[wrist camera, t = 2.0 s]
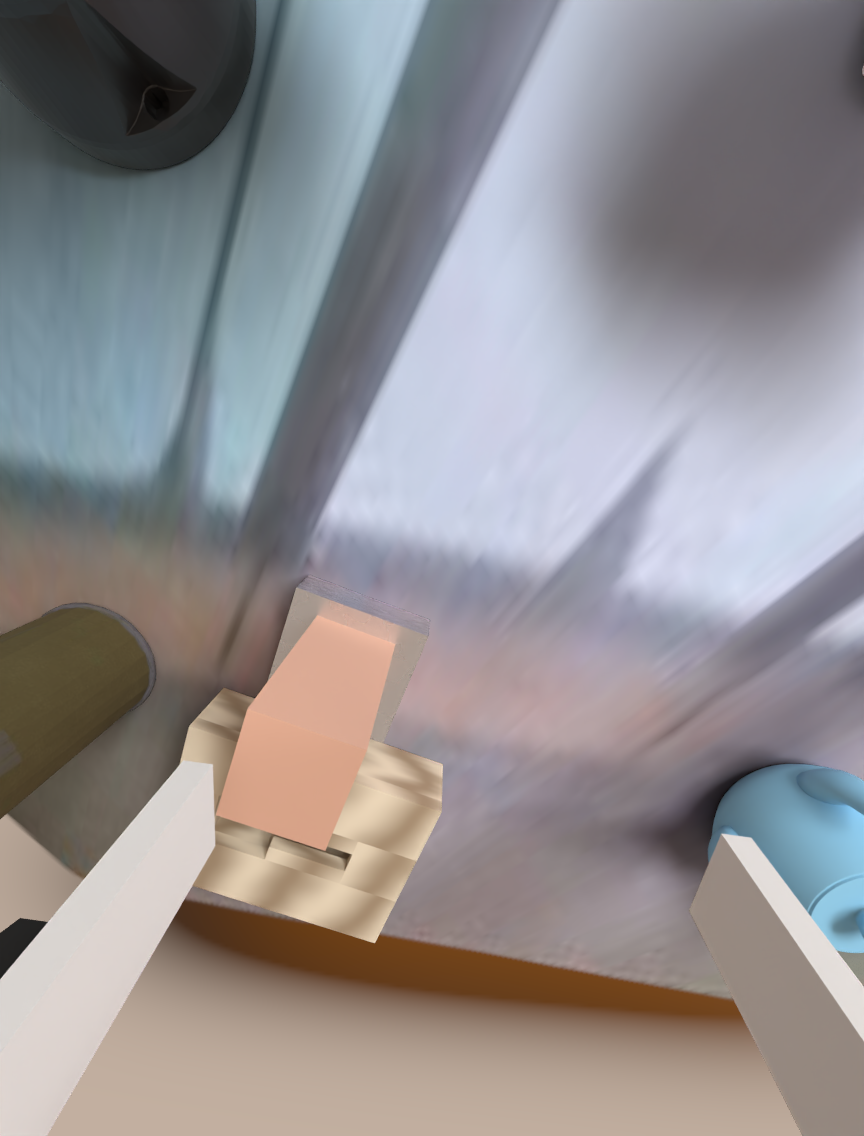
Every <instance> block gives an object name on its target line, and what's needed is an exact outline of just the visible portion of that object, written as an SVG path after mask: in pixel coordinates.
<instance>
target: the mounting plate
mask: <svg viewBox="0 0 864 1136" xmlns="http://www.w3.org/2000/svg"><path fill="white" fill-rule="evenodd" d="M254 699H255V698H252V697H249V696H246V695H244V694H241V693H238V692H235V691H232V690H229V689H226V688H223V689H222V690H221V691H220V692H219V694H218V695H217V696H216V697H215V698H214V699H213V700H212V701H211V702H210V703H209V705H208V706H207V707H206V708H205V709H204V710H203V711H202V712H201V713H200V715H199V716H198V717H197V718H196V719H195V720H194V721H193V722H192V723H191V724H190V726H189V729H188V733H187V737H186V741H185V745H184V749H183V753H182V757H181V761H180V764H181V763H182V761H183V760H184V761H192V762H199V763H206V764H213V785H214V817H215V847H214V849H213V851H212V853H211V854H210V856H209V858H208V859H207V861H206V863H205V865H204V866H203V868H202V870H201V871H200V873H199V875H198V877H197V878H196V880H195V882H194V883H193V885H192V886H195V887H198V888H201V889H205V890H208V891H211V892H214V893H217V894H220V895H224V896H227V897H230V898H233V899H236V900H239V901H243V902H246V903H249V904H252V905H255V906H258V907H262V908H265V909H268V910H271V911H274V912H278V913H281V914H284V915H287V916H290V917H293V918H297V919H300V920H303V921H306V922H309V923H312V924H316V925H319V926H322V927H325V928H328V929H331V930H335V931H338V932H341V933H344V934H347V935H351V936H354V937H357V938H360V939H363V940H366V941H369V942H373V943H375V942H376V940H377V938H378V936H379V934H380V932H381V930H382V928H383V926H384V924H385V922H386V920H387V918H388V916H389V914H390V912H391V910H392V908H393V906H394V904H395V902H396V900H397V898H398V896H399V894H400V892H401V891H402V889H403V887H404V885H405V883H406V881H407V879H408V877H409V875H410V873H411V871H412V869H413V867H414V865H415V863H416V861H417V859H418V857H419V855H420V853H421V851H422V849H423V847H424V845H425V843H426V841H427V840H428V838H429V836H430V834H431V832H432V830H433V828H434V826H435V824H436V822H437V820H438V818H439V816H440V814H441V812H442V775H443V764H441V763H438V762H435V761H432V760H429V759H426V758H424V757H421V756H418V755H415V754H412V753H409V752H406V751H404V750H401V749H398V748H395V747H392V746H389V745H386V744H384V743H381V742H378V741H375V740H372V739H370V741H369V745H368V748H367V752H366V754H365V756H364V759H363V761H362V764H361V766H360V768H359V771H358V773H357V776H356V778H355V780H354V783H353V785H352V788H351V790H350V792H349V795H348V797H347V800H346V802H345V805H344V807H343V809H342V812H341V814H340V817H339V819H338V821H337V824H336V826H335V829H334V831H333V833H332V836H331V838H330V841H329V843H328V845H327V848H326V850H325V851H324V850H321V849H318V848H314V847H311V846H308V845H305V844H302V843H299V842H296V841H293V840H290V839H287V838H284V837H281V836H278V835H275V834H272V833H269V832H266V831H263V830H260V829H257V828H254V827H250V826H247V825H244V824H241V823H238V822H235V821H232V820H229V819H226V818H223V817H220V816H217V815H216V813H217V809H218V806H219V803H220V799H221V796H222V792H223V789H224V786H225V782H226V779H227V776H228V772H229V769H230V766H231V762H232V759H233V755H234V752H235V749H236V745H237V742H238V739H239V735H240V732H241V729H242V725H243V722H244V718H245V715H246V712H247V709H248V707H249V706H250V705H251V703H252V702H253V701H254Z"/></svg>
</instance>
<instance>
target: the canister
mask: <svg viewBox="0 0 864 1136" xmlns="http://www.w3.org/2000/svg"><path fill="white" fill-rule="evenodd" d="M155 680H156V668H155V661H154V657H153V654H152V652H151V649H150V647H149V645H148V643H147V642H146V641H145V639H144V638H143V636H142V635H141V634H140V633H139V632H138V631H137V629H136V628H135V627H134V626H133V625H132V624H131V623H130V622H128V621H127V620H125V619H124V618H123V617H121V616H120V615H118V614H116V613H114V612H112V611H110V610H108V609H106V608H103V607H99V606H95V605H91V604H87V603H71V604H65V605H61V606H58V607H56V608H54V609H52V610H50V611H48V612H47V613H45V614H44V615H43V616H42V617H41V618H39V619H37V620H34V621H32V622H30V623H28V624H25V625H23V626H21V627H19V628H16V629H14V630H12V631H10V632H7V633H5V634H3V635H1V636H0V819H1V818H2V817H3V816H4V815H6V814H7V813H8V812H9V811H10V810H12V809H13V808H14V807H15V806H16V805H17V804H19V803H20V802H21V801H22V800H23V799H25V798H26V797H27V796H28V795H29V794H30V793H32V792H33V791H34V790H35V789H36V788H38V787H39V786H40V785H41V784H42V783H43V782H45V781H46V780H47V779H48V778H49V777H51V776H52V775H53V774H54V773H55V772H56V771H58V770H59V769H60V768H61V767H62V766H64V765H65V764H66V763H67V762H68V761H70V760H71V759H72V758H73V757H74V756H75V755H77V754H78V753H79V752H80V751H81V750H83V749H84V748H85V747H86V746H87V745H88V744H90V743H91V742H92V741H93V740H94V739H96V738H97V737H98V736H99V735H100V734H101V733H103V732H104V731H105V730H106V729H107V728H109V727H110V726H111V725H112V724H113V723H114V722H116V721H117V720H118V719H119V718H120V717H122V716H123V715H124V714H125V713H126V712H128V711H131V710H133V709H135V708H136V707H138V706H139V705H141V704H142V703H143V702H144V701H145V700H146V699H147V697H148V696H149V695H150V693H151V690H152V688H153V686H154V683H155Z"/></svg>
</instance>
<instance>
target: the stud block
mask: <svg viewBox="0 0 864 1136" xmlns="http://www.w3.org/2000/svg"><path fill="white" fill-rule="evenodd" d="M394 648H395V644H394V643H391V642H388V641H386V640H383V639H380V638H377V637H375V636H372V635H369V634H367V633H364V632H361V631H358V630H356V629H353V628H350V627H348V626H345V625H342V624H339V623H337V622H334V621H331V620H328V619H326V618H323V617H320V616H318V615H317V616H316V618H315V619H314V620H313V622H312V623H311V624H310V626H309V627H308V628H307V630H306V631H305V632H304V634H303V635H302V636H301V638H300V639H299V640H298V642H297V643H296V644H295V646H294V647H293V648H292V650H291V651H290V652H289V654H288V655H287V656H286V658H285V659H284V660H283V662H282V663H281V664H280V666H279V667H278V669H277V670H276V671H275V673H274V674H273V675H272V677H271V678H270V679H269V681H268V682H267V683H266V685H265V686H264V687H263V689H262V690H261V691H260V693H259V694H258V695H257V697H256V698H255V699H254V701H253V702H252V703H251V705H250V706H249V707H248V709H247V712H246V715H245V718H244V722H243V725H242V729H241V732H240V735H239V739H238V742H237V745H236V749H235V752H234V755H233V759H232V762H231V766H230V769H229V772H228V776H227V779H226V782H225V786H224V789H223V792H222V796H221V799H220V803H219V806H218V809H217V813H216V815H217V816H220V817H223V818H226V819H229V820H232V821H235V822H238V823H241V824H244V825H247V826H250V827H254V828H257V829H260V830H263V831H266V832H269V833H272V834H275V835H278V836H281V837H284V838H287V839H290V840H293V841H296V842H299V843H302V844H305V845H308V846H311V847H314V848H318V849H321V850H324V851H325V850H326V848H327V845H328V843H329V841H330V838H331V836H332V833H333V831H334V829H335V826H336V824H337V821H338V819H339V817H340V814H341V812H342V809H343V807H344V805H345V802H346V800H347V797H348V795H349V792H350V790H351V788H352V785H353V783H354V780H355V778H356V776H357V773H358V771H359V768H360V766H361V764H362V761H363V759H364V756H365V754H366V752H367V748H368V745H369V741H370V737H371V734H372V730H373V726H374V722H375V719H376V715H377V711H378V707H379V704H380V700H381V696H382V693H383V689H384V685H385V681H386V678H387V674H388V670H389V666H390V663H391V659H392V655H393V652H394Z"/></svg>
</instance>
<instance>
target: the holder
mask: <svg viewBox="0 0 864 1136" xmlns="http://www.w3.org/2000/svg"><path fill="white" fill-rule="evenodd" d="M317 615H318V616H320V617H323V618H326V619H328V620H331V621H334V622H337V623H339V624H342V625H345V626H348V627H350V628H353V629H356V630H358V631H361V632H364V633H367V634H369V635H372V636H375V637H377V638H380V639H383V640H386V641H388V642H391V643H394V644H395V648H394V652H393V655H392V659H391V663H390V666H389V670H388V674H387V678H386V681H385V685H384V689H383V693H382V696H381V700H380V704H379V707H378V711H377V715H376V719H375V722H374V726H373V730H372V734H371V737H370V738H371V739H374V740H377V741H380V742H384V739H385V737H386V735H387V732H388V730H389V728H390V725H391V723H392V721H393V718H394V716H395V714H396V711H397V709H398V707H399V704H400V702H401V699H402V697H403V695H404V692H405V690H406V688H407V685H408V683H409V681H410V678H411V676H412V674H413V671H414V669H415V667H416V664H417V662H418V660H419V657H420V655H421V653H422V650H423V648H424V646H425V643H426V641H427V639H428V636H429V627H430V620H429V619H427V618H424V617H421V616H419V615H416V614H413V613H411V612H408V611H405V610H403V609H400V608H397V607H395V606H392V605H389V604H387V603H384V602H381V601H379V600H376V599H373V598H371V597H368V596H365V595H363V594H360V593H357V592H355V591H352V590H349V589H347V588H344V587H341V586H339V585H336V584H333V583H331V582H328V581H325V580H322V579H320V578H317V577H314V576H312V575H309V576H307V577H306V578H305V579H304V580H303V581H302V582H301V583H300V584H299V585H298V586H297V587H296V590H295V593H294V597H293V600H292V603H291V606H290V610H289V613H288V616H287V619H286V623H285V626H284V629H283V632H282V636H281V639H280V642H279V645H278V649H277V652H276V655H275V659H274V662H273V665H272V668H271V672H270V675H269V678H268V681H269V679H270V678H271V677H272V675H273V674H274V673H275V671H276V670H277V669H278V667H279V666H280V664H281V663H282V662H283V660H284V659H285V658H286V656H287V655H288V654H289V652H290V651H291V650H292V648H293V647H294V646H295V644H296V643H297V642H298V640H299V639H300V638H301V636H302V635H303V634H304V632H305V631H306V630H307V628H308V627H309V626H310V624H311V623H312V622H313V620H314V619H315V618H316V616H317ZM268 681H267V682H268Z"/></svg>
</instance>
